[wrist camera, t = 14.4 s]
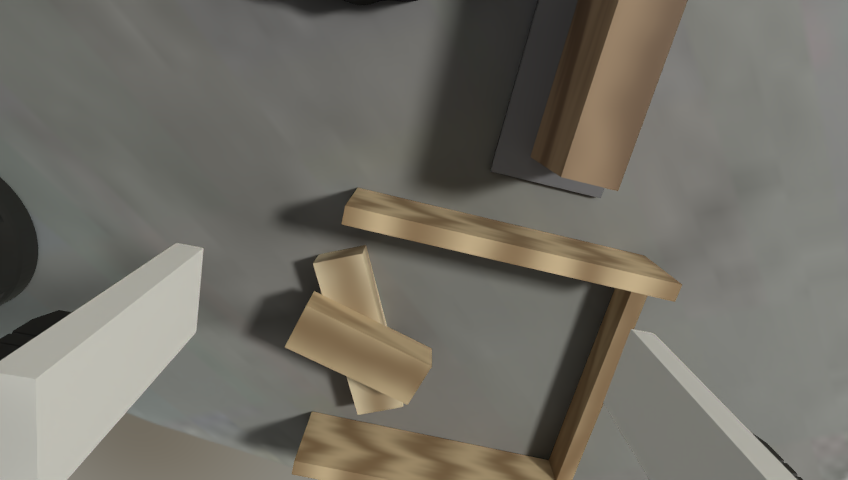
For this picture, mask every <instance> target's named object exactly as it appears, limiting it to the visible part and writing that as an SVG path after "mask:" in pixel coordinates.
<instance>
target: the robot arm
mask: <svg viewBox="0 0 848 480" xmlns="http://www.w3.org/2000/svg"><path fill="white" fill-rule="evenodd" d="M37 259H38V242H37V236H36V232H35V228H34V225H33V222H32V220H31V217H30V215H29V213H28V211H27V209H26V208H25V206H24V204H23V203H22V201H21V200H20V198H19V197H18V196H17V195H16V193H15V192H14V191H13V190H12V189H11V187H10V186H9V185H8V184H7V183H6V182H5V181H3V180H2V179H1V178H0V305H2V304H4V303H6V302H8V301H9V300H11V299H13V298H14V297H16V296H17V295H18V294H20V293H21V292H22V291H23V290H24V289H25V287H26V286H27V285H28V283H29V282H30V280H31V278H32V276H33V274H34V272H35V269H36V265H37ZM202 259H203V248H201V247H195V246H190V245H185V244H180V243H176V244H174V245H173V246H171V247H170V248H168V249H167V250H165V251H164V252H162V253H161V254H159V255H158V256H156V257H155V258H153V259H152V260H150V261H149V262H147V263H146V264H144V265H143V266H141V267H140V268H138V269H137V270H135V271H134V272H132V273H131V274H129V275H128V276H126V277H125V278H123V279H122V280H120V281H119V282H117V283H116V284H114V285H113V286H111V287H110V288H108V289H107V290H105V291H104V292H102V293H101V294H99V295H98V296H96V297H95V298H93V299H92V300H90V301H89V302H87V303H86V304H84V305H83V306H81V307H80V308H78V309H77V310H75V311H74V312H66V311H60V310H58V311H55V312H52V313H49V314H46V315H43V316H40V317H37V318H34V319H32V320H30V321H29V322H27V323H25V324H24V325H22V326H20V327H19V328H17V329H16V330H14V331H13V333H12V334H7V335H6V336H4V337H3V338H1V339H0V480H67V479H68V478H69V477H70V476H71V474H72V473H73V472H74V471H75V470H76V469H77V468H78V467H79V465H80V464H81V463H82V462H83V461H84V460H85V458H86V457H87V456H88V455H89V454H90V453H91V452H92V451H93V449H94V448H95V447H96V446H97V445H98V444H99V443H100V441H101V440H102V439H103V438H104V437H105V436H106V435H107V433H108V432H109V431H110V430H111V429H112V428H113V426H114V425H115V424H116V423H117V422H118V421H119V420H120V418H121V417H122V416H123V415H124V414H125V413H126V412H127V411H128V409H129V408H130V407H131V406H132V405H133V404H134V403H135V401H136V400H137V399H138V398H139V397H140V396H141V395H142V393H143V392H144V391H145V390H146V389H147V388H148V387H149V385H150V384H151V383H152V382H153V381H154V380H155V379H156V377H157V376H158V375H159V374H160V373H161V372H162V371H163V369H164V368H165V367H166V366H167V365H168V364H169V363H170V361H171V360H172V359H173V358H174V357H175V356H176V355H177V353H178V352H179V351H180V350H181V349H182V348H183V347H184V345H185V344H186V343H187V342H188V341H189V340H190V339H191V337H192V336H193V335H194V334H195V333H196V329H197V317H198V306H199V294H200V283H201V271H202ZM603 404H604V405H605V407H606V409H607V410H608V412H609V414H610V415H611V417H612V419H613V420H614V422H615V424H616V425H617V427H618V429H619V430H620V432H621V434H622V435H623V437H624V438H625V440H626V442H627V443H628V445H629V447H630V448H631V450H632V452H633V453H634V455H635V457H636V458H637V460H638V462H639V463H640V465H641V467H642V468H643V470H644V472H645V473H646V475H647V477H648V478H649V480H803V479H802V478H801V477H797V473H796V472H795V471H794V470H793V469H792V468H791V467H790V466H789V465H788V464H787V463H784V460H783V459H782V458H781V457H780V456H779V455H778V454H777V453H776V452H775V451H774V450H773V449H772V448H771V447H770V446H769V445H768V444H767V443H766V442H764V441H763V440H761V439H760V438H759V437H757V436H756V435H754V434H753V433H752V432H750V431H749V430H748V429H747V428H746V427H745V426H744V425H743V424H742V423H741V422H740V421H739V420H738V419H737V418H736V416H735V415H734V414H733V413H732V412H731V411H730V410H729V409H728V408H727V407H726V406H725V405H724V404H723V403H722V402H721V401H720V400H719V399H718V398H717V397H716V396H715V395H714V394H713V393H712V392H711V391H710V390H709V389H708V388H707V387H706V386H705V385H704V384H703V383H702V382H701V381H700V380H699V379H698V378H697V377H696V376H695V375H694V374H693V373H692V372H691V371H690V370H689V368H688V367H687V366H686V365H685V364H684V363H683V362H682V361H681V360H680V359H679V358H678V357H677V356H676V355H675V354H674V353H673V352H672V351H671V350H670V349H669V348H668V347H667V346H666V345H665V344H664V343H663V342H662V341H661V340H660V339H659V338H658V337H657V336H656V335H655V334H654V333H650V332H645V331H639V330H634V329H631V330H630V333H629V336H628V338H627V341H626V344H625V346H624V349H623V352H622V354H621V357H620V359H619V362H618V365H617V367H616V370H615V373H614V375H613V378H612V381H611V383H610V386H609V389H608V391H607V394H606V397H605V399H604V402H603Z"/></svg>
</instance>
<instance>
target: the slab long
mask: <svg viewBox="0 0 848 480" xmlns="http://www.w3.org/2000/svg"><path fill="white" fill-rule="evenodd" d="M313 266H314V269H315V272H316V276H317V279H318V282H319V286H320V289H321V293H322V295H323V296H325V297H327V298H329V299H331V300H334V301H336V302H338V303H340V304H342V305H344V306H346V307H348V308H350V309H352V310H354V311H356V312H358V313H360V314H362V315H364V316H366V317H368V318H370V319H372V320H374V321H376V322H378V323H380V324H382V325H385V326H387V325H386V321H385V317H384V313H383V309H382V305H381V302H380V298H379V294H378V290H377V286H376V282H375V278H374V275H373V271H372V267H371V263H370V259H369V255H368V252H367V248H366V245H363V246H359V247H354V248H349V249H344V250H339V251H334V252H329V253H324V254H319V255H318V256H317V258H316V260H315V261H314V263H313ZM346 377H347V376H346ZM347 380H348V383H349V387H350V390H351V394H352V397H353V400H354V404H355V407H356V410H357V414H358V415H360V414H366V413H371V412H377V411H382V410H388V409H394V408H399V407H403V402H400V401H398V400H396V399H394V398H392V397H390V396H388V395H385V394H383V393H381V392H379V391H377V390H375V389H373V388H371V387H368V386H366V385H364V384H362V383H360V382H358V381H356V380H353V379H351V378H349V377H347Z"/></svg>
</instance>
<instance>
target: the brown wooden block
mask: <svg viewBox="0 0 848 480" xmlns="http://www.w3.org/2000/svg"><path fill="white" fill-rule="evenodd" d="M687 1H688V0H578V2H577V5H576V9H575V12H574V15H573V19H572V22H571V25H570V28H569V32H568V35H567V38H566V41H565V45H564V48H563V51H562V55H561V58H560V61H559V64H558V68H557V71H556V74H555V78H554V81H553V84H552V87H551V91H550V94H549V97H548V101H547V104H546V107H545V110H544V114H543V117H542V120H541V124H540V127H539V130H538V133H537V137H536V140H535V143H534V147H533V150H532V153H531V156H530V157H531V158H533V159H534V160H536V161H537V162H539V163H540V164H542V165H543V166H545V167H546V168H548V169H549V170H551V171H552V172H554V173H556V174H557V175H559V176H560V177H563V178H567V179H571V180H575V181H579V182H583V183H587V184H591V185H595V186H599V187H603V188H607V189H612V190H616V191H618V190H619V187H620V184H621V182H622V179H623V176H624V173H625V171H626V168H627V165H628V162H629V160H630V157H631V154H632V151H633V149H634V146H635V143H636V141H637V138H638V135H639V132H640V130H641V127H642V124H643V121H644V119H645V116H646V113H647V110H648V108H649V105H650V102H651V99H652V97H653V94H654V91H655V88H656V86H657V83H658V80H659V77H660V75H661V72H662V69H663V66H664V64H665V61H666V58H667V56H668V53H669V50H670V47H671V45H672V42H673V39H674V36H675V34H676V31H677V28H678V25H679V23H680V20H681V17H682V14H683V12H684V9H685V6H686V3H687Z"/></svg>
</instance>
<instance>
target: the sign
mask: <svg viewBox="0 0 848 480" xmlns="http://www.w3.org/2000/svg"><path fill="white" fill-rule="evenodd" d="M344 1H347V2H349V3H352V4H357V5H367V4H372V3H375V2H379V1H385V0H344ZM396 1H416V0H396Z"/></svg>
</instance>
